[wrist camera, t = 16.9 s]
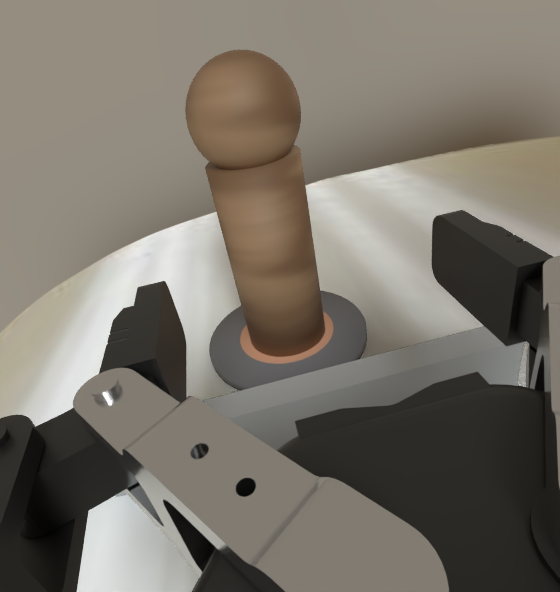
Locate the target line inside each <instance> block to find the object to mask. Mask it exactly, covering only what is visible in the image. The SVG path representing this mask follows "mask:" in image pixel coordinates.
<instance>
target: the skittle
mask: <svg viewBox="0 0 560 592" xmlns="http://www.w3.org/2000/svg"><path fill="white" fill-rule="evenodd" d="M186 120H187V126H188V130H189V132H190V135H191V137H192V140H193V142H194V144H195V145H196V147H197V148H198V150H199V151H200V152H201V154H202V155H203V156H204V157H205V158H206V159H207V160H208V161H209V163H208V164H207V165H206V167H205V169H206V173H207V177H208V181H209V184H210V188H211V192H212V196H213V199H214V203H215V207H216V211H217V215H218V218H219V222H220V226H221V230H222V234H223V237H224V241H225V245H226V249H227V253H228V256H229V260H230V264H231V268H232V271H233V275H234V279H235V283H236V287H237V290H238V294H239V298H240V302H241V305H242V309H243V313H244V317H245V321H246V324H247V328H248V332H249V336H250V340H251V343H252V345H253V347H254V348H255V349H256V350H258V351H259V352H261V353H263V354H265V355H269V356H274V357H287V356H293V355H297V354H300V353H303V352H306V351H307V350H309V349H311V348H313V347H314V346H315V345H317V344H318V343H319V342H320V341H321V339H322V338H323V336H324V333H325V322H324V315H323V308H322V301H321V294H320V287H319V280H318V273H317V266H316V259H315V252H314V245H313V238H312V231H311V223H310V216H309V209H308V202H307V195H306V188H305V181H304V174H303V167H302V160H301V153H300V148H299V147H297V146H295V145H294V142H295V140H296V138H297V135H298V131H299V127H300V121H301V110H300V102H299V97H298V94H297V91H296V88H295V86H294V84H293V82H292V80H291V78H290V77H289V75H288V74H287V73H286V72H285V71H284V69H283V68H282V67H281V66H280V65H278V63H277V62H275V61H274V60H272V59H271V58H269V57H267V56H265V55H263V54H261V53H258V52H255V51H250V50H233V51H228V52H225V53H222V54H220V55H218V56H215V57H214V58H212V59H211V60H209V61H208V62H207V63H206V64H205V65H204V66H203V67H202V68H201V69H200V70H199V71H198V73H197V74H196V76H195V77H194V79H193V81H192V83H191V85H190V88H189V91H188V94H187V100H186Z"/></svg>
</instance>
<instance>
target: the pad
mask: <svg viewBox="0 0 560 592" xmlns="http://www.w3.org/2000/svg"><path fill="white" fill-rule="evenodd" d="M320 294H321V301H322V308H323V315H324V322H325V333H324V336H323V338H322V339H321V341H320V342H319V343H318V344H317V345H315V346H314V347H313V348H311V349H309V350H307V351H306V352H303V353H300V354H297V355H293V356H287V357H274V356H269V355H265V354H263V353H261V352H259V351H258V350H256V349H255V348H254V347H253V345H252V343H251V340H250V336H249V332H248V328H247V324H246V321H245V317H244V313H243V309H242V306H240V307H238V308H237V309H235V310H234V311H233V312H231V313H230V314H229V315H228V316H227V317H226V318H224V319H223V320H222V322H221V323H220V324H219V325H218V326H217V328H216V330H215V331H214V333H213V335H212V338H211V341H210V356H211V360H212V363H213V366H214V368H215V370H216V372H217V373H218V375H219V376H220V377H221V378H222V379H223V380H224V381H225V382H226V383H227V384H229V385H230V386H232V387H234V388H236V389H238V390H240V391H241V390H245V389H249V388H253V387H256V386H260V385H264V384H268V383H272V382H275V381H279V380H283V379H287V378H290V377H294V376H298V375H302V374H306V373H309V372H313V371H317V370H321V369H325V368H328V367H332V366H336V365H340V364H343V363H347V362H351V361H355V360H359V359H360V357H361V355H362V354H363V352H364V349H365V346H366V340H367V333H366V323H365V320H364V317H363V315H362V313H361V312H360V310H359V309H358V308H357V307H356V306H355V305H354V304H353V303H351V302H350V301H348V300H347V299H345V298H343V297H341V296H338V295H336V294H333V293H329V292H325V291H320Z"/></svg>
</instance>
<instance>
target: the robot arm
mask: <svg viewBox="0 0 560 592" xmlns="http://www.w3.org/2000/svg"><path fill="white" fill-rule="evenodd" d="M432 270H433V274H434V276H435V278H436V280H437V282H438V283H439V284H440V285H441V286H442V287H443V288H444V289H445V290H446V291H448V292H449V293H450V294H451V295H452V296H453V297H454V298H455V299H456V300H457V301H458V302H459V303H460V304H461V305H462V306H464V307H465V308H466V309H467V310H468V311H469V312H470V313H471V314H472V315H473V316H474V317H475V318H476V319H477V320H478V321H480V322H481V323H482V324H483V325H484V326H485V327H486V328H487V329H488V330H489V331H490V332H491V333H492V334H493V335H494V336H496V337H497V338H498V339H499V340H500V341H501V342H502V343H503V344H504V345H505V346H506V347H507V346H511V345H514V344H518V343H522V342H526V341H527V342H528V343H529V346H528V352H527V367H526V387H522V386H515V385H506V384H489V383H488V382H487V381H486V380H485V379H484V378H483V377H482V376H481V375H480V373H479V372H474V373H470V374H467V375H463V376H459V377H456V378H452V379H448V380H444V381H441V382H437V383H434V384H432V385H430V386H428V387H426V388H424V389H422V390H421V391H419V392H417V393H415V394H413V395H411V396H409V397H408V398H406V399H404V400H402V401H400V402H398V403H396V404H393V405H388V406H373V407H357V408H342V409H337V410H334V411H330V412H326V413H323V414H319V415H315V416H311V417H308V418H304V419H300V420H297V421H295V424H296V429H297V433H298V436H297V437H295V438H293V439H291V440H290V441H288V442H287V443H285V444H284V445H282V446H281V447H280V448H278V449H277V450H275V449H273V448H272V447H270V446H269V445H267V444H266V443H264V442H263V441H261V440H260V439H258V438H257V437H255V436H254V435H252V434H251V433H249V432H247V431H246V430H244V429H243V428H241V427H240V426H238V425H237V424H235V423H234V422H232V421H231V420H229V419H228V418H226V417H225V416H223V415H222V414H220V413H219V412H217V411H216V410H214V409H213V408H211V407H209V406H208V405H206V404H205V403H203V402H202V401H200V400H199V399H197V398H195V397H193V396H189V397H187V398H186V340H185V335H184V331H183V327H182V324H181V321H180V319H179V316H178V313H177V310H176V308H175V305H174V302H173V299H172V297H171V294H170V291H169V288H168V286H167V284H166V282H165V281H162V282H158V283H154V284H150V285H145V286H141V287H138V289H137V293H136V298H135V303H134V306H131V307H127V308H123V310H122V311H121V312H120V313H119V314H118V315H117V317H116V318H115V319H114V320H113V323H112V327H111V331H110V335H109V338H108V344H107V346H106V349H105V353H104V357H103V361H102V364H101V368H100V372H99V374H98V375H96V376H94V377H93V378H91V379H90V380H88V381H87V382H86V383H85V384H84V385H83V386H82V387H81V388H80V389H79V390H78V392H77V393H76V395H75V397H74V400H73V406H74V408H72V409H71V410H69V411H67V412H65V413H63V414H61V415H59V416H57V417H55V418H53V419H51V420H49V421H47V422H45V423H43V424H41V425H38V426H36V427H35V425H34V424H33V423H32V421H31V420H30V419H29V418H28V417H26V416H23V415H11V416H7V417H4V418H1V419H0V592H76V591H77V584H78V578H79V571H80V564H81V557H82V551H83V544H84V537H85V530H86V523H87V517H88V511H89V510H90V509H92V508H94V507H96V506H97V505H99V504H101V503H102V502H104V501H106V500H108V499H109V498H111V497H113V496H115V495H116V494H118V493H120V492H122V491H123V490H124V491H125V492H126V493H127V494H128V496H129V497H130V498H131V499H132V500H133V501H134V502H135V503H136V504H137V505H138V506H139V507H140V508H141V509H142V511H143V512H144V513H145V514H146V515H147V516H148V517H149V518H150V519H151V520H152V521H153V522H154V523H155V524H156V526H157V527H158V528H159V529H160V530H161V531H162V532H163V533H164V534H165V535H166V536H167V537H168V539H169V540H170V541H171V542H172V543H173V545H174V546H175V547H176V549H177V550H178V551H179V553H180V554H181V556H182V557H183V558H184V560H185V561H186V562H187V563H188V565H189V566H190V567H191V568H192V570H193V571H194V572H195V573H196V574H197V575H198V576H199V577H200V578H199V579H198V581H197V583H196V585H195V587H194V589H193V591H192V592H560V256H557V257H553V256H551V255H549V254H547V253H546V252H544V251H542V250H540V249H539V248H537V247H535V246H533V245H532V244H530V243H528V242H526V241H523V239H521V238H519V237H518V236H516V235H513V234H512V233H511V232H509V231H507V230H506V229H504V228H502V227H500V226H497V225H493V224H489V223H486V222H482V221H480V220H479V219H477V218H475V217H474V216H472V215H470V214H469V213H467V212H465V211H463V210H460V211H456V212H451V213H447V214H443V215H439V216H436V217H435V219H434V221H433V230H432Z"/></svg>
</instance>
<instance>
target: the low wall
mask: <svg viewBox="0 0 560 592" xmlns="http://www.w3.org/2000/svg"><path fill="white" fill-rule="evenodd" d="M523 347H524V342H522V343H518V344H514V345H511V346H507V347H506V346H505V345H504V344H503V343H502V342H501V341H500V340H499V339H498V338H497V337H496V336H494V335H493V334H492V333H491V332H490V331H489V330H488V329H487V328H486V327H485V326H484V327H480V328H476V329H472V330H468V331H465V332H461V333H457V334H453V335H449V336H446V337H442V338H438V339H434V340H431V341H427V342H423V343H419V344H415V345H412V346H408V347H404V348H400V349H396V350H393V351H389V352H385V353H381V354H378V355H374V356H370V357H366V358H362V359H359V360H355V361H351V362H347V363H343V364H340V365H336V366H332V367H328V368H325V369H321V370H317V371H313V372H309V373H306V374H302V375H298V376H294V377H290V378H287V379H283V380H279V381H275V382H272V383H268V384H264V385H260V386H256V387H253V388H249V389H245V390H241V391H237V392H234V393H230V394H226V395H222V396H219V397H215V398H211V399H207V400H203V401H202V402H203V403H205V404H206V405H208V406H209V407H211V408H213V409H214V410H216V411H217V412H219V413H220V414H222V415H223V416H225V417H226V418H228V419H229V420H231V421H232V422H234V423H235V424H237V425H238V426H240V427H241V428H243V429H244V430H246V431H247V432H249V433H251V434H252V435H254V436H255V437H257V438H258V439H260V440H261V441H263V442H264V443H266V444H267V445H269V446H270V447H272V448H273V449H275V450H277V449H278V448H280V447H281V446H282V445H284V444H285V443H287V442H288V441H290V440H291V439H293V438H295V437H297V436H298V433H297V429H296V424H295V421H297V420H300V419H304V418H308V417H311V416H315V415H319V414H323V413H326V412H330V411H334V410H337V409H342V408H357V407H373V406H388V405H393V404H396V403H398V402H400V401H402V400H404V399H406V398H408V397H409V396H411V395H413V394H415V393H417V392H419V391H421V390H422V389H424V388H426V387H428V386H430V385H432V384H434V383H437V382H441V381H444V380H448V379H452V378H456V377H459V376H463V375H467V374H470V373H474V372H479V373H480V375H481V376H482V377H483V378H484V379H485V380H486V381H487V382H488V383H489V384H506V385H515V386H517V382H518V376H519V370H520V365H521V359H522V353H523ZM125 494H127V493H126V492H125V491H124V490H123V491H122V492H120V493H118V494H116V497H117V496H121V495H125Z"/></svg>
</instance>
